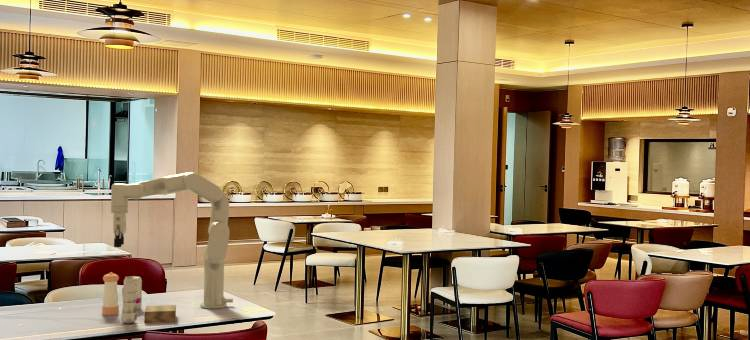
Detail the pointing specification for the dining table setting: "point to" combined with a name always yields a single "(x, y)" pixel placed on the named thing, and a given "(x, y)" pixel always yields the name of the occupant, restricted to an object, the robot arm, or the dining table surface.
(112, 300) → the pepper shaker
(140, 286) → the supplement can
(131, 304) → the plastic bottle
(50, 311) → the dining table surface
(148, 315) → the walnut block
